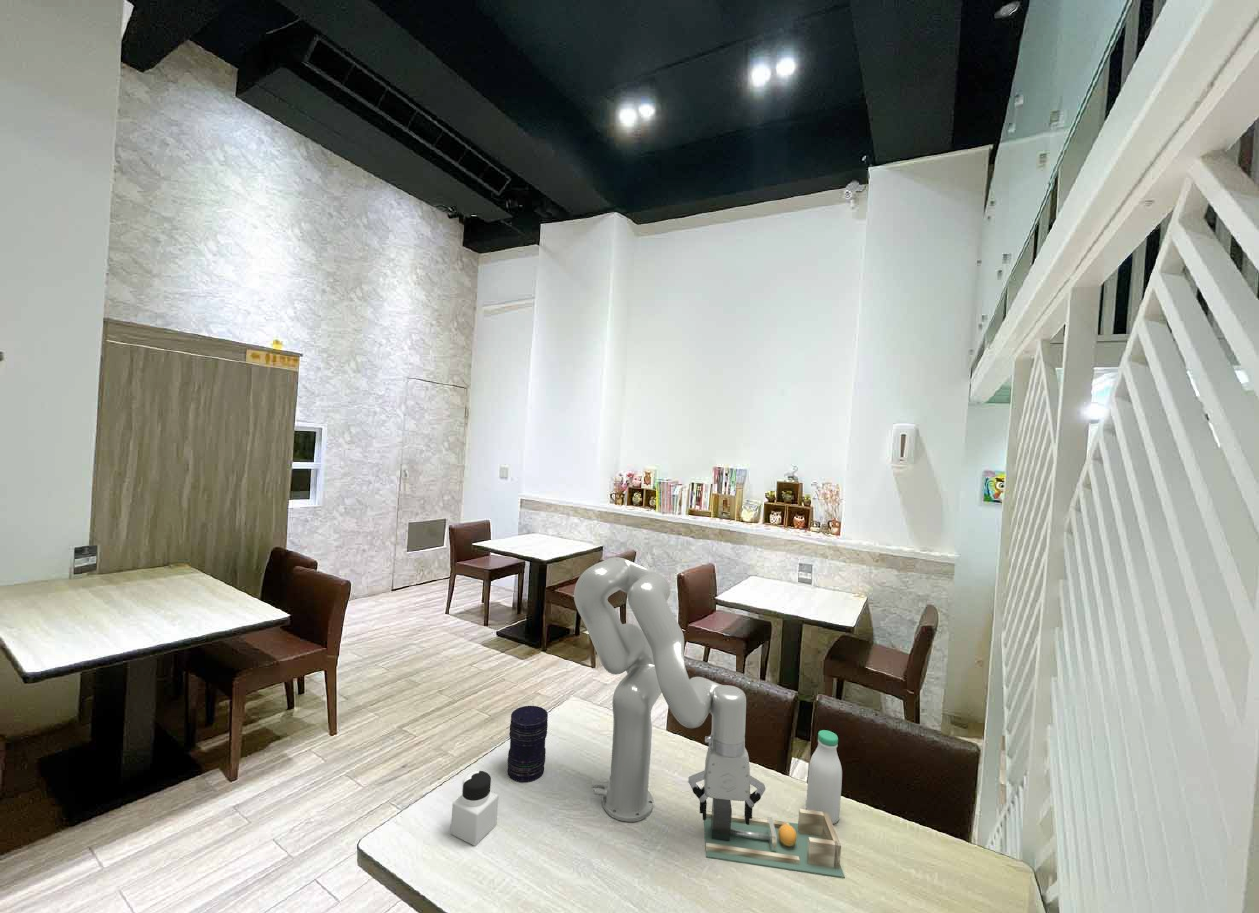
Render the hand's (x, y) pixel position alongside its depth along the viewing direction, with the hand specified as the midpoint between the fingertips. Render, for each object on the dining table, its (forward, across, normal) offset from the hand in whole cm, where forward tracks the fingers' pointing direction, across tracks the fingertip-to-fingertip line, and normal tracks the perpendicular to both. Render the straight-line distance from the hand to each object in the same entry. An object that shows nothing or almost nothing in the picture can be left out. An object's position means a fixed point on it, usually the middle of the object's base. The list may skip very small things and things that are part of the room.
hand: (725, 818), depth 115 cm
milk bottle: (+5, +25, +12) cm, 28 cm away
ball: (+2, +14, 0) cm, 14 cm away
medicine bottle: (+3, -56, -9) cm, 57 cm away
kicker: (+4, +4, 0) cm, 6 cm away
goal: (+5, +20, 0) cm, 21 cm away
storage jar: (+2, -51, +13) cm, 53 cm away
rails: (+4, +5, 0) cm, 7 cm away
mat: (+5, +10, 0) cm, 11 cm away
